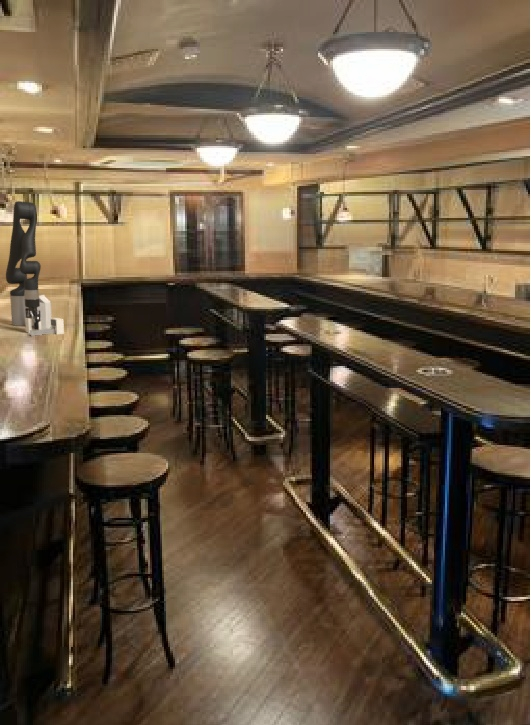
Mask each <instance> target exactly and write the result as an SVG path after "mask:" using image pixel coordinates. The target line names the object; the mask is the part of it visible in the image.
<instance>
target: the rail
mask: <svg viewBox="0 0 531 725" xmlns="http://www.w3.org/2000/svg"><path fill="white" fill-rule="evenodd" d="M51 333H56V331H55V328H47V329H36V330H35V329H32V330H30V334H29V336H30V335H31V336H30V337H36V336H35V335H40V336H43V335H42V334H50V335H52V334H51Z"/></svg>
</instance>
